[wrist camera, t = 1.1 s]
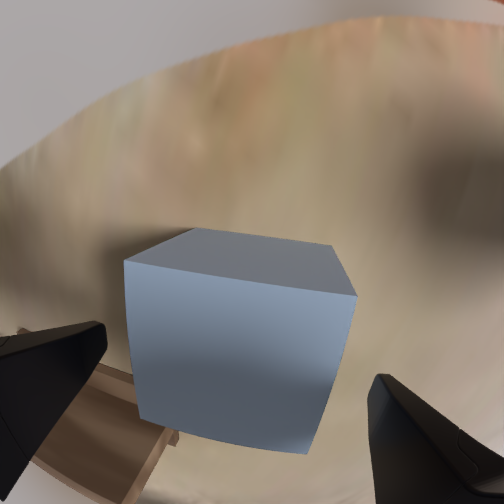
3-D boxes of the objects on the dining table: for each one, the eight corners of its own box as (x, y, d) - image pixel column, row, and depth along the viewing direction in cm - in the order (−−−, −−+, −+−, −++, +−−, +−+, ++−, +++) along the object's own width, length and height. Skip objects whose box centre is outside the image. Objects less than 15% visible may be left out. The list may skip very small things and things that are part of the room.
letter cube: (307, 363, 14) (306, 455, 8) (192, 343, 14) (140, 419, 9) (331, 245, 12) (357, 295, 7) (196, 227, 13) (123, 260, 7)
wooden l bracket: (178, 438, 16) (134, 526, 9) (37, 376, 18) (-20, 423, 11) (175, 388, 15) (111, 490, 8) (22, 328, 17) (-46, 371, 9)
